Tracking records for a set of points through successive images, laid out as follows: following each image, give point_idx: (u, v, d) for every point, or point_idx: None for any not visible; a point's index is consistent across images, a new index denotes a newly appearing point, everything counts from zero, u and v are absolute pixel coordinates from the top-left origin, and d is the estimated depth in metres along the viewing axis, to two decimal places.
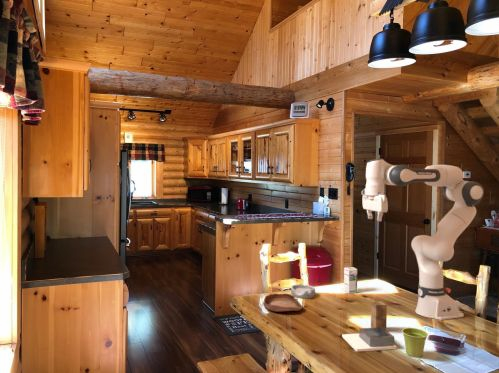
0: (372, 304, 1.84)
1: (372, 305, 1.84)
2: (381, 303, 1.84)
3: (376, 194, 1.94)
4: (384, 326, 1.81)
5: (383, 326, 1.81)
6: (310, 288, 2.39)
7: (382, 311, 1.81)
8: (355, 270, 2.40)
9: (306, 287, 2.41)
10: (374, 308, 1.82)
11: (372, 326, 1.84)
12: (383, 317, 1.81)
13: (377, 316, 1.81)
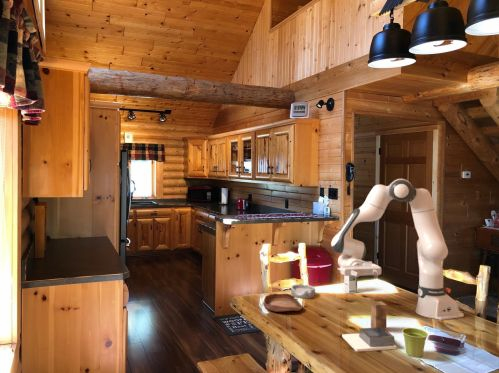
0: (372, 304, 1.84)
1: (372, 305, 1.84)
2: (381, 303, 1.84)
3: None
4: (384, 326, 1.81)
5: (383, 326, 1.81)
6: (310, 288, 2.39)
7: (382, 311, 1.81)
8: None
9: (306, 287, 2.41)
10: (374, 308, 1.82)
11: (372, 326, 1.84)
12: (383, 317, 1.81)
13: (377, 316, 1.81)
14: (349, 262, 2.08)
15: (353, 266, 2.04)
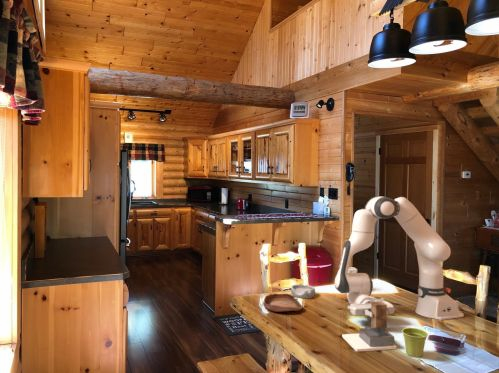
0: (372, 304, 1.84)
1: (372, 305, 1.84)
2: (381, 303, 1.84)
3: None
4: (384, 326, 1.81)
5: (383, 326, 1.81)
6: (310, 288, 2.39)
7: (382, 311, 1.81)
8: (355, 270, 2.40)
9: (306, 287, 2.41)
10: (374, 308, 1.82)
11: (372, 326, 1.84)
12: (383, 317, 1.81)
13: (377, 316, 1.81)
14: (359, 299, 1.96)
15: (364, 304, 1.92)
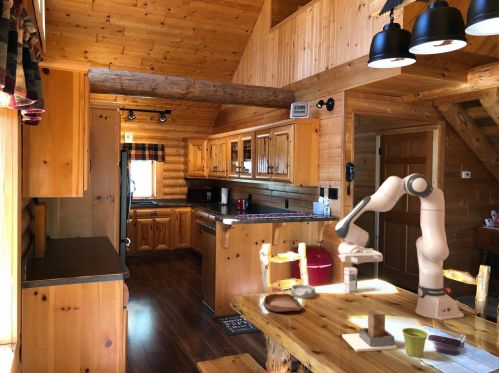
0: (369, 313, 1.69)
1: (369, 314, 1.69)
2: (379, 312, 1.69)
3: None
4: None
5: None
6: (310, 288, 2.39)
7: (380, 321, 1.66)
8: (355, 270, 2.40)
9: (306, 287, 2.41)
10: (371, 317, 1.67)
11: None
12: (382, 327, 1.66)
13: (375, 326, 1.66)
14: (349, 249, 2.03)
15: (353, 253, 1.99)
